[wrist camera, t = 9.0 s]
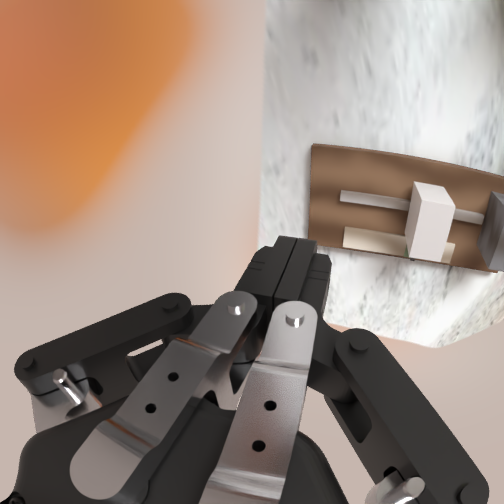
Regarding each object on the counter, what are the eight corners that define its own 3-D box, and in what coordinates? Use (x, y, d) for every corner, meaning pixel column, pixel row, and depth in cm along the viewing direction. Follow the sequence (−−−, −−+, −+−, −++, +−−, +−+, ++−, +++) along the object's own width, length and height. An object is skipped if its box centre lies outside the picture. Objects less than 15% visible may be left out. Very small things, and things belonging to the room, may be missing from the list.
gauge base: (313, 143, 37) (302, 157, 31) (521, 181, 29) (545, 203, 23) (309, 238, 45) (298, 267, 39) (494, 267, 36) (508, 298, 30)
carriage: (413, 180, 33) (421, 200, 28) (443, 186, 32) (455, 206, 27) (398, 256, 39) (401, 285, 34) (425, 261, 38) (431, 289, 33)
